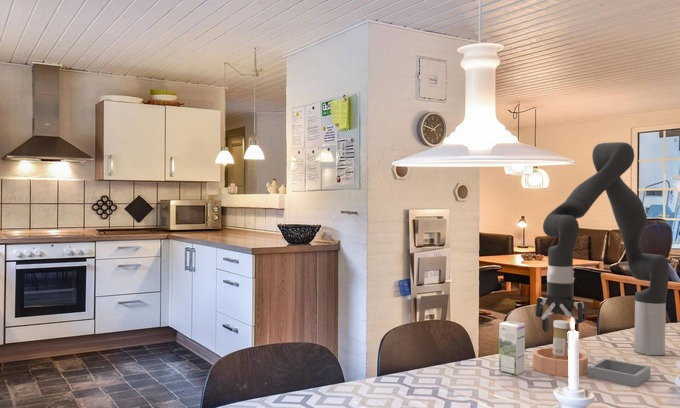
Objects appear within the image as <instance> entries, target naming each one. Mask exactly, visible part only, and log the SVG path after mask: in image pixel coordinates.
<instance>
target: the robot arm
mask: <svg viewBox="0 0 680 408" xmlns="http://www.w3.org/2000/svg"><path fill="white" fill-rule="evenodd" d="M634 161H635V151H634V148H633V147H632V145H631V144H630V143H628V142H624V141H619V142H618V141H617V142H616V141H614V142H602V143H598V144H597V145H595V146H594V147H593V149H592V163H593V165H594V168H595V170H596V173H595V174H593V175H592V176H590V177H589V178H587V179H586V180H584V181H582V182H581V183H580V184H578V185H577V186H576V187H575V188H574V189H573V190H572V192H571V193H570V194H569V195H568V197H567V198H566V199H565V201H564V202H562V203H561V204H560V205H558V206H557V207H555V208H554V209H553V210H551V212H550V213H548V214H547V215H546V217H545V218H544V220H543V224H542V229H543V233H544V234H545V235H546V236H547V237H550V238H557V239H558V242H557V245H553V246H550V247H549V249H548V252H547V253H548V255H547V256H548V257H547V260H548V261H547V264H548V265H547V274H546V280H547V281H546V287H547V288H546V294H547V296H546V297H545V298H544V296H539V297H537V298H536V305H535V306H536V307H535V316H536V317H537V318H540V319H541V329H542V330H543V333H548V332H549V331H550V319H549V318H550V316H552V315H553V314H556V315H562V316H566V317H567V319H569V320H570V316H572V317H574V319H575V330H576V331H578V332H579V324H582V323H585V322H586V308H585V307H586V305H585V302H584V301H580V302H579V301H578V302H577V301H575V300H574V291H575V290H574V289H575V288H574V283H575V282H574V281H575V280H574V279H575V277H574V250H575V247H576V244H577V240H578V236H579V232H580V226H579V225H580V224H579V221H578V219H581V218H582V217H584V216H585V215H586V213H587V212H588V211H589V210H590V208H591V207H592V206H593V205H594V203H595V202H596V201H597V200H598V198H599V197H600V196H601V195H602V194H603V193H604V192H605V194H606V195H607V199H608V200H609V204H610V206H611V209H612V214H613V216H614V219H615V222H616V225H617V227H618V230H619V233H620V236H621V240H622V242H623V246H624V250H625V255H626V259H627V266H628V268H629V271H630V274H631V276H632V277H633V278H634V279H635V280H639V281H645V282H649V287H648V288H646V289H643V290H638V291H636V292H635V295H634V341H633V342H634V347H633V348H634V352H636V353H639V354H642V355H648V356H664V355H665V354H666V318H667V317H666V313H667V312H666V308H667V306H666V305H667V303H666V302H667V295H668V291H669V290H668V289H669V276H670V275H669V274H670V264H669V261H668V258H667V257H666V256H665V255H663V254H662V255H661V254H655V253H654V254H653V253H645V252H644V250H643V247H642V242H641V240H642V236H643V235H644V232H645V230H646V227H647V224H648V217H647V214H646V209H645V207H644V204H643V202H642V200H641V198H640V197H639V196H638V195H637V193H636V192H635V191H633V189H632V188H630V187H629V186H628V185H627V183H625V181H624V180H623V179H622V178H621V176H622V175H624V174H625V173H626V172H627V171H628V169H630V168H631V166H632V165H633V162H634ZM544 305H547V307H548V308H547V309H546V310H545V311H544ZM574 307H575V309H576V310H577V315H576V313H575V311H574V310H573V308H574ZM579 333H580V332H579Z"/></svg>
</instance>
